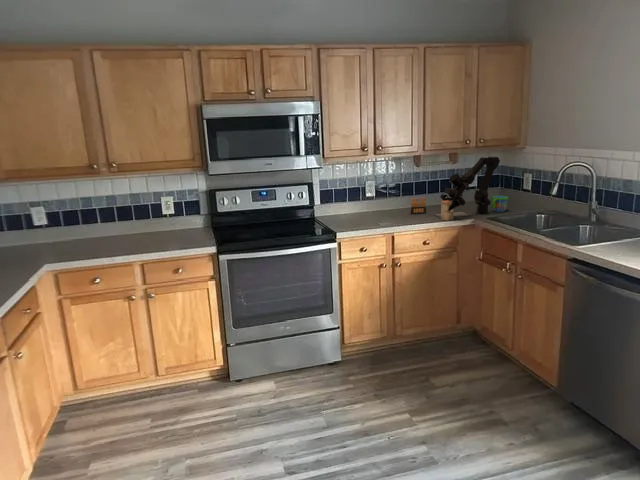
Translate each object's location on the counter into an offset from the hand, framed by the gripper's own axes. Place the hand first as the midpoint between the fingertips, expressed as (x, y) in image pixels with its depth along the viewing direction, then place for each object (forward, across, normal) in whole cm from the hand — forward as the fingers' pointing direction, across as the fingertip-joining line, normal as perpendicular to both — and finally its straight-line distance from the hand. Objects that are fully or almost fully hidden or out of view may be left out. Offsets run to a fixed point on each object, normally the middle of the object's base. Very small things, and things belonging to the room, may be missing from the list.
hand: (445, 209), depth 332 cm
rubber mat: (-4, -7, +13) cm, 15 cm away
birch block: (+4, 0, +6) cm, 7 cm away
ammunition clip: (+5, -27, +4) cm, 28 cm away
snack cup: (-28, +2, +38) cm, 47 cm away
